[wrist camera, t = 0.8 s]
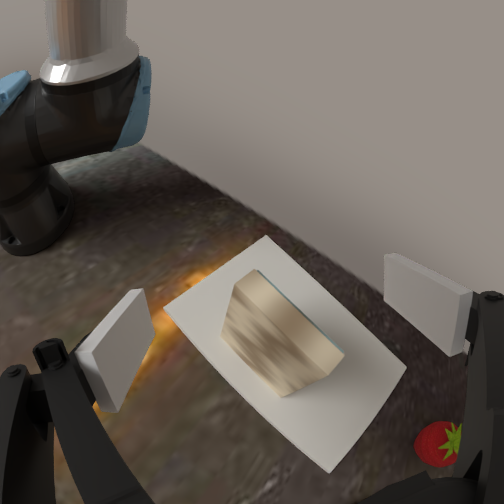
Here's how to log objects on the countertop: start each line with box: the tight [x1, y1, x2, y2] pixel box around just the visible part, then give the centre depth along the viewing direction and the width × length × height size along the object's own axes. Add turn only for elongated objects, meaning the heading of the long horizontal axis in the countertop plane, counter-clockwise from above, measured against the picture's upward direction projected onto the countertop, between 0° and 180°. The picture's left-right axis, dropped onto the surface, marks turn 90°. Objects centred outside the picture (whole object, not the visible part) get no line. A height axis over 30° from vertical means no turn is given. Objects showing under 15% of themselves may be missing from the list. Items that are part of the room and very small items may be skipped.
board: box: [220, 269, 345, 398], centre depth 27 cm, size 10×2×13 cm, turn 45°
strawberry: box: [413, 421, 462, 467], centre depth 24 cm, size 6×8×10 cm
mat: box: [163, 235, 407, 473], centre depth 35 cm, size 28×18×1 cm, turn 45°
